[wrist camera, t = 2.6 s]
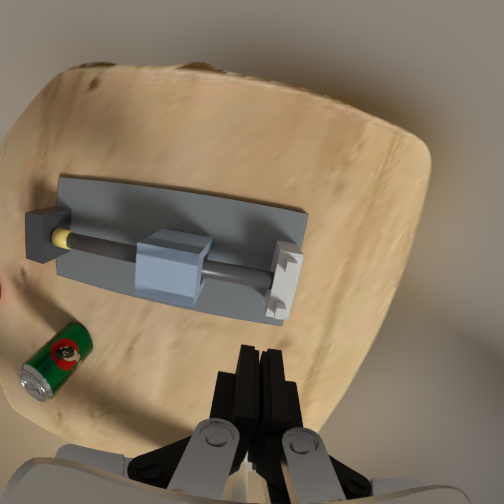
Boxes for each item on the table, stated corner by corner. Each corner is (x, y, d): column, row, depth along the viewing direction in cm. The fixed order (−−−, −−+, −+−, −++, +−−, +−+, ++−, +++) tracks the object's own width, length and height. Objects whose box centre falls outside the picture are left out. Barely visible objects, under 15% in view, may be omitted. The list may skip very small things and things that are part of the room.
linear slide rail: (307, 213, 27) (321, 222, 21) (281, 322, 29) (286, 354, 23) (60, 176, 26) (26, 178, 20) (57, 272, 29) (27, 288, 23)
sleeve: (212, 237, 26) (199, 254, 20) (206, 280, 27) (192, 308, 21) (163, 228, 26) (137, 242, 20) (159, 271, 27) (134, 294, 21)
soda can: (66, 315, 30) (12, 360, 19) (95, 330, 31) (45, 383, 19) (67, 343, 31) (21, 390, 20) (94, 358, 32) (52, 411, 20)
